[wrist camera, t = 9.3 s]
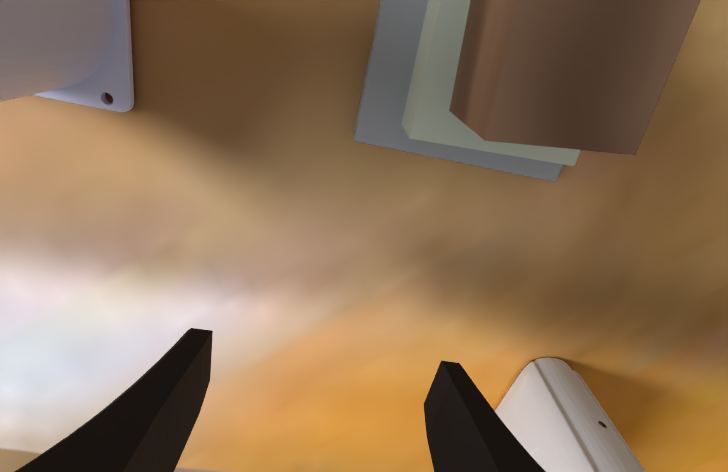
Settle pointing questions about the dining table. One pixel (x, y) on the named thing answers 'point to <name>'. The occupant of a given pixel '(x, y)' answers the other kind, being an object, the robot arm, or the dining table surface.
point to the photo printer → (563, 422)
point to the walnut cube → (567, 70)
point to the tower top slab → (435, 89)
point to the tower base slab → (390, 90)
